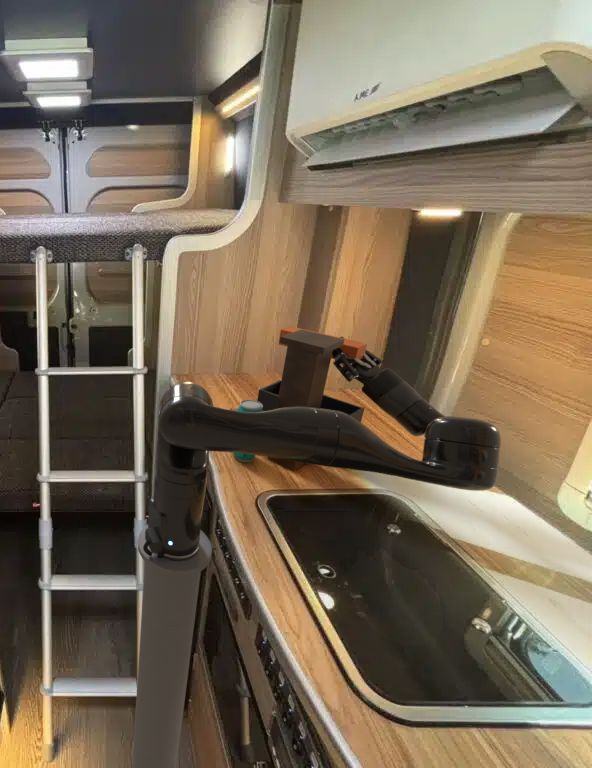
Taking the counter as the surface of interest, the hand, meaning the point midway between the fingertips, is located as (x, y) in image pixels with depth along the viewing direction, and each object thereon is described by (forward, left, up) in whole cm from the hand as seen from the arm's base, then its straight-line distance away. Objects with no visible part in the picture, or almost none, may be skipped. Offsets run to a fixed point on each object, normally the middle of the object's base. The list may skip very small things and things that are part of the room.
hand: (332, 341), depth 112 cm
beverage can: (-20, -2, -29) cm, 35 cm away
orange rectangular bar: (-1, +2, -3) cm, 4 cm away
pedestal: (-10, -5, -29) cm, 31 cm away
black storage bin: (-1, +2, -29) cm, 29 cm away
